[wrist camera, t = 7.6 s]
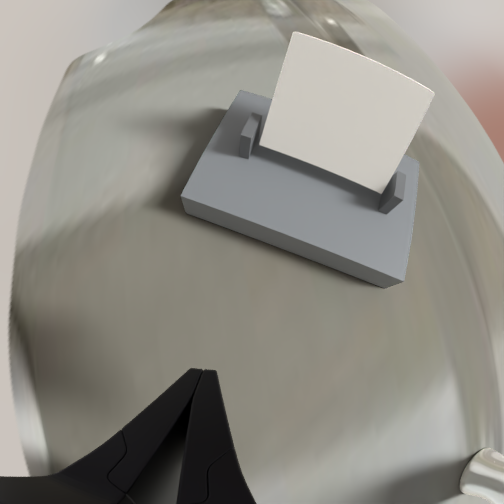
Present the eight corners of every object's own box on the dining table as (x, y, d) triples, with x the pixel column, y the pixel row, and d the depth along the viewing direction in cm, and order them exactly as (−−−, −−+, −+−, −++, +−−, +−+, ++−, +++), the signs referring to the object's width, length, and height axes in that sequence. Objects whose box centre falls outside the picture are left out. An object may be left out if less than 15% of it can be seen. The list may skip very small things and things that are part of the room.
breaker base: (384, 288, 24) (424, 273, 18) (185, 213, 25) (174, 177, 19) (403, 177, 28) (434, 146, 22) (238, 111, 28) (241, 67, 22)
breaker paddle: (381, 194, 21) (435, 93, 15) (259, 144, 22) (293, 31, 15) (379, 182, 23) (428, 87, 16) (264, 136, 23) (297, 31, 17)
